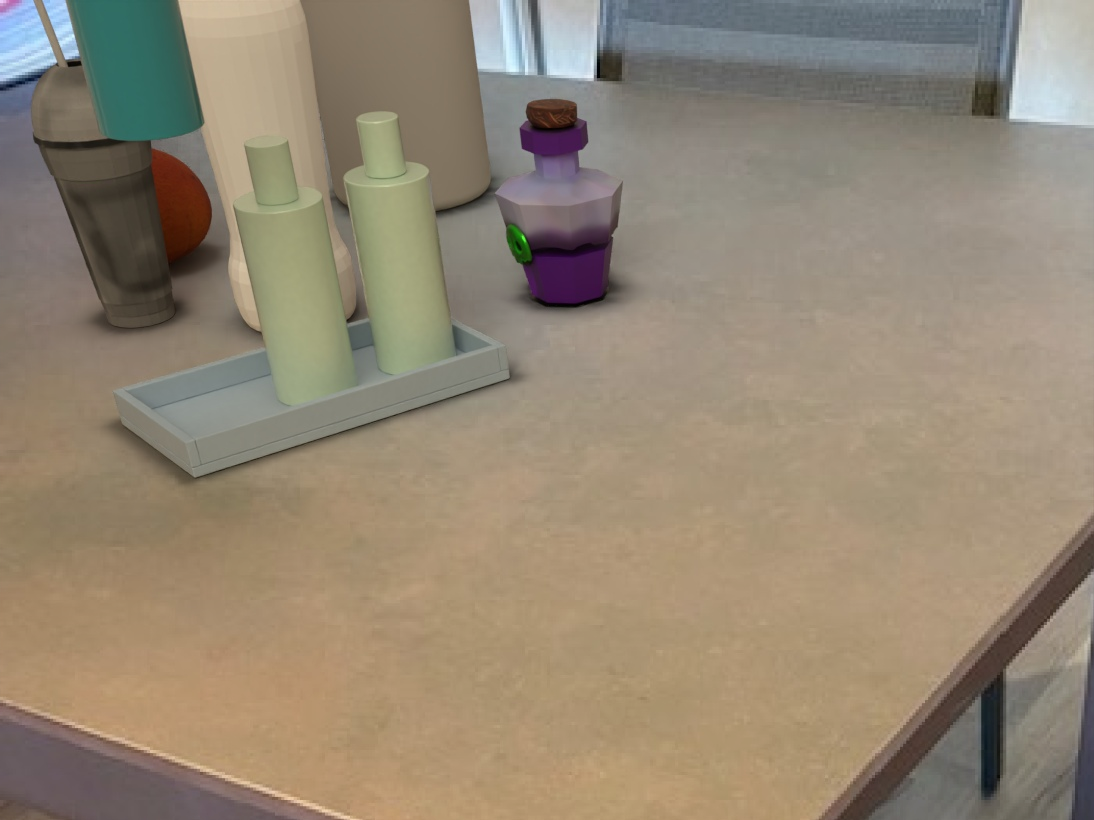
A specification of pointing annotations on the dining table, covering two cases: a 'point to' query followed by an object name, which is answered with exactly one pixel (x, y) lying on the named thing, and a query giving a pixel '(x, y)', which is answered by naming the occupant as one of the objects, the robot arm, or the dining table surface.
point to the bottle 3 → (398, 250)
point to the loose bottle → (137, 68)
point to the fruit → (180, 205)
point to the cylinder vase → (402, 87)
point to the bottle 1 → (259, 112)
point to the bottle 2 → (293, 277)
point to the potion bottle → (560, 210)
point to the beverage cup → (103, 195)
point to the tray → (270, 426)
